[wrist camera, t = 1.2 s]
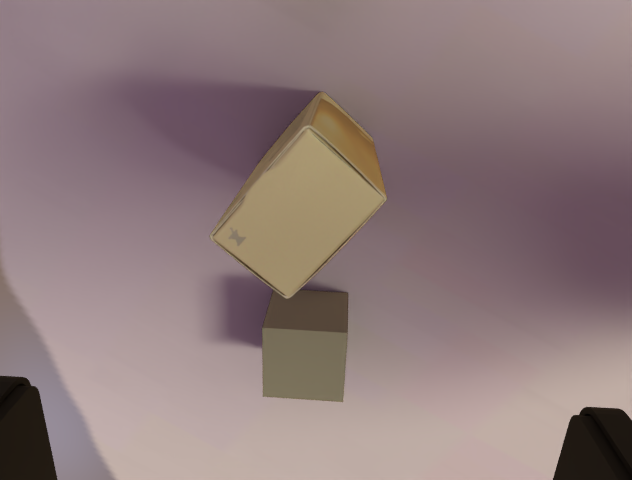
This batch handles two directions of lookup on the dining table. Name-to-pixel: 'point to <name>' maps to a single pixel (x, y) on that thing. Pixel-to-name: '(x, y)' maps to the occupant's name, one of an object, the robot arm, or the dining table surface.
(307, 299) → the grayish brown block
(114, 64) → the dining table surface
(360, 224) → the skincare box
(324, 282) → the dining table surface
